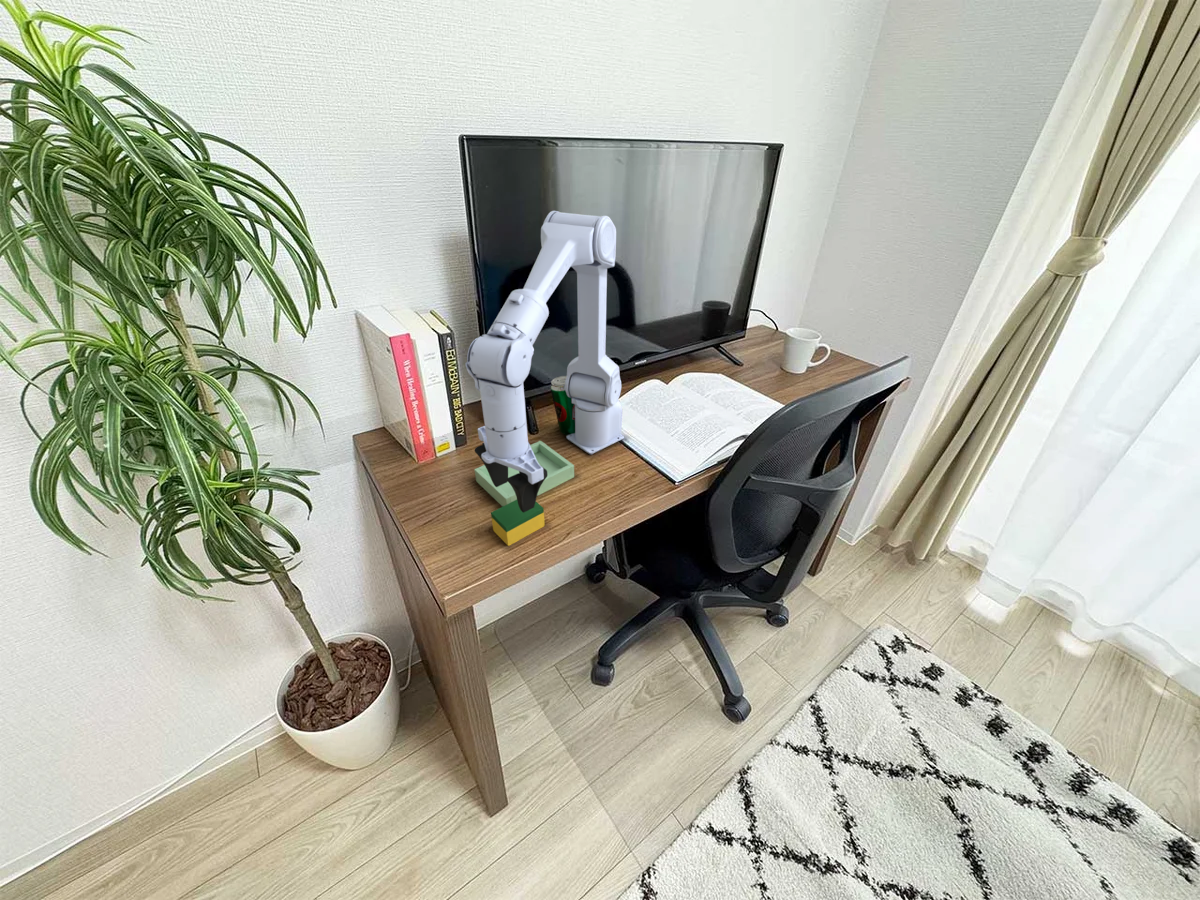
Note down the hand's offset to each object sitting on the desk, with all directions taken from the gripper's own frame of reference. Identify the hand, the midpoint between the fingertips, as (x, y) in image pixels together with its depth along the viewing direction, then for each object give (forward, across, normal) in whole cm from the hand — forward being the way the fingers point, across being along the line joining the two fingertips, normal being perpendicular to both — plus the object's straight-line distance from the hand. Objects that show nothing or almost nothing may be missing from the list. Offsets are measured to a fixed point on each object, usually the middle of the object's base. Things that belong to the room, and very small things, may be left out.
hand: (513, 495), depth 73 cm
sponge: (+7, 0, 0) cm, 7 cm away
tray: (+7, -10, +8) cm, 14 cm away
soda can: (+7, -18, +25) cm, 32 cm away
